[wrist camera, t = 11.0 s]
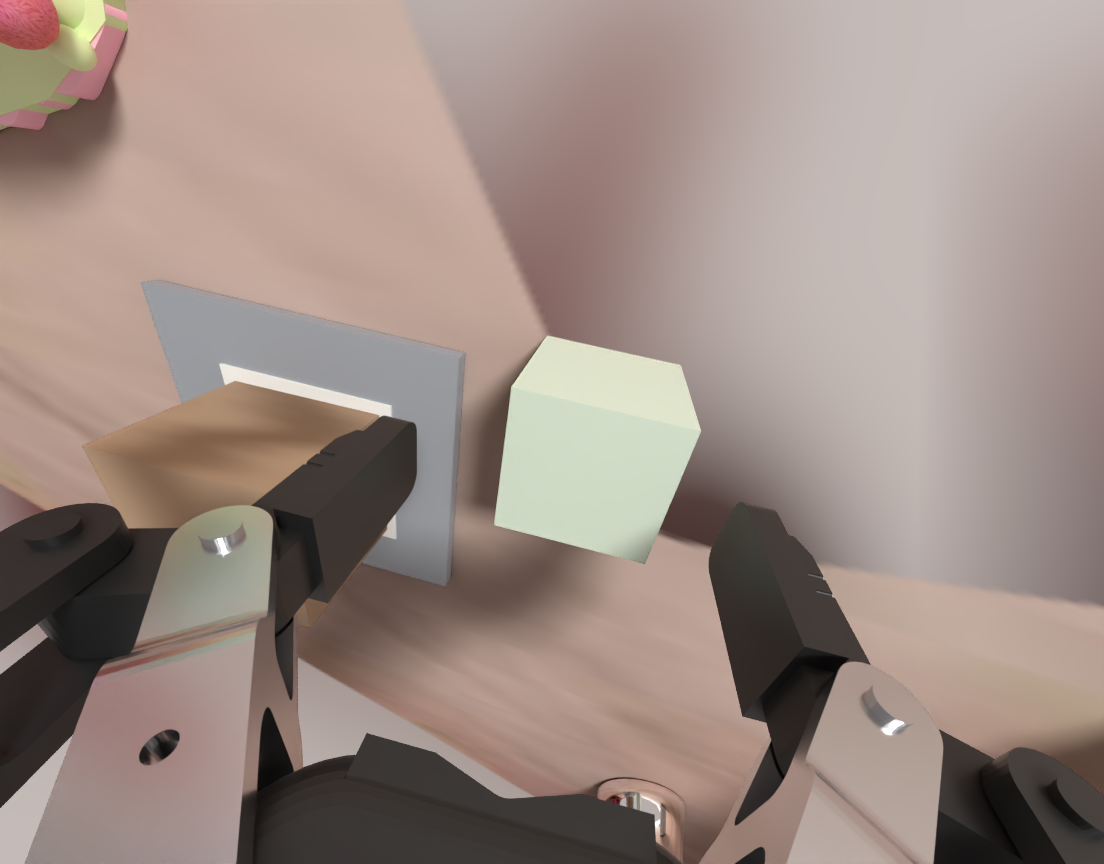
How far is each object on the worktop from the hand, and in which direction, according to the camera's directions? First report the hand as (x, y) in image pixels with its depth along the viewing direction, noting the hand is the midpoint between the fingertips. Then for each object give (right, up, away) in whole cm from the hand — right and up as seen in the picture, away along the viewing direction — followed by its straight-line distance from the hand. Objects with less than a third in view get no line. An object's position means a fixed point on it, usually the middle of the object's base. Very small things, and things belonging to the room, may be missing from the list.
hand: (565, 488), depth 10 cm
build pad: (-10, +1, +7) cm, 13 cm away
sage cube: (+1, +2, +4) cm, 5 cm away
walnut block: (-10, 0, +7) cm, 12 cm away
